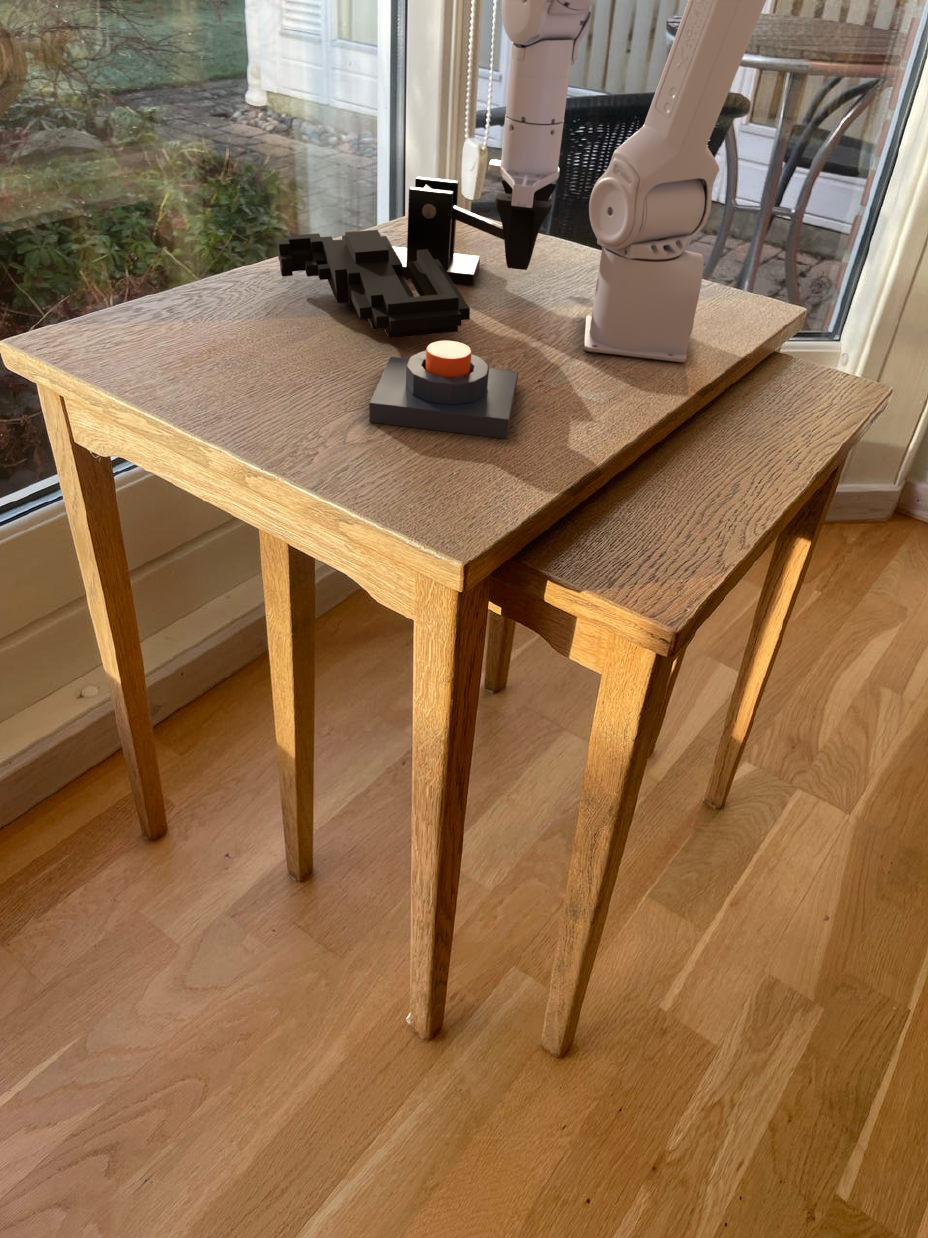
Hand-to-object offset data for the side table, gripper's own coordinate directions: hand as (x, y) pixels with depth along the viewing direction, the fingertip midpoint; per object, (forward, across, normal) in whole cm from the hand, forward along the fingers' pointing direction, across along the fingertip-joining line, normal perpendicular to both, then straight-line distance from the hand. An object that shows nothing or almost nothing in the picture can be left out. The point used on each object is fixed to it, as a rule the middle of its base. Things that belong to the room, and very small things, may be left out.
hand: (519, 258), depth 104 cm
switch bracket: (+2, 0, -9) cm, 10 cm away
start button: (-1, +31, -3) cm, 31 cm away
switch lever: (-2, 0, -5) cm, 6 cm away
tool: (+2, +13, -13) cm, 19 cm away
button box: (+2, +31, -3) cm, 31 cm away
